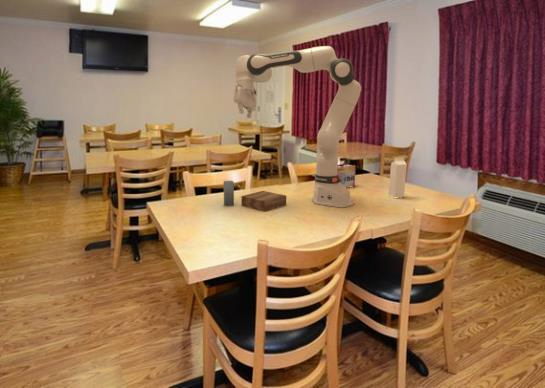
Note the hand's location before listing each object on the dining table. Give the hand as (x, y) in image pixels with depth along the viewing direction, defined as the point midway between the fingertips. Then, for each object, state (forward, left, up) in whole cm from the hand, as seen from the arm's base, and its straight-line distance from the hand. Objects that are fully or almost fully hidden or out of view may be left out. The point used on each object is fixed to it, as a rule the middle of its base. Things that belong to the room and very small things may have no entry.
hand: (245, 115), depth 195 cm
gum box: (-19, -60, -44) cm, 77 cm away
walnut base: (-13, +1, -44) cm, 46 cm away
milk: (-56, -61, -44) cm, 94 cm away
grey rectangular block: (+1, +12, -44) cm, 46 cm away
